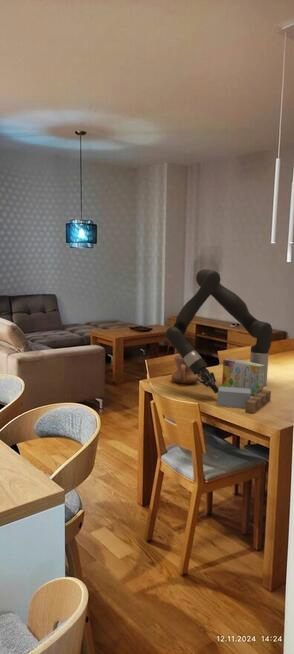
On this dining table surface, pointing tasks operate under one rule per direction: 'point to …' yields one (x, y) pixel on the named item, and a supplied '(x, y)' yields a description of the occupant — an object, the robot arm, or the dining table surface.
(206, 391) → the dining table surface
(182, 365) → the ceramic jug
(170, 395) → the dining table surface
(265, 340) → the robot arm
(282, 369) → the dining table surface
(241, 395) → the brick
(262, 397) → the notched wooden bar
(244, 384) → the snack box
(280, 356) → the dining table surface
